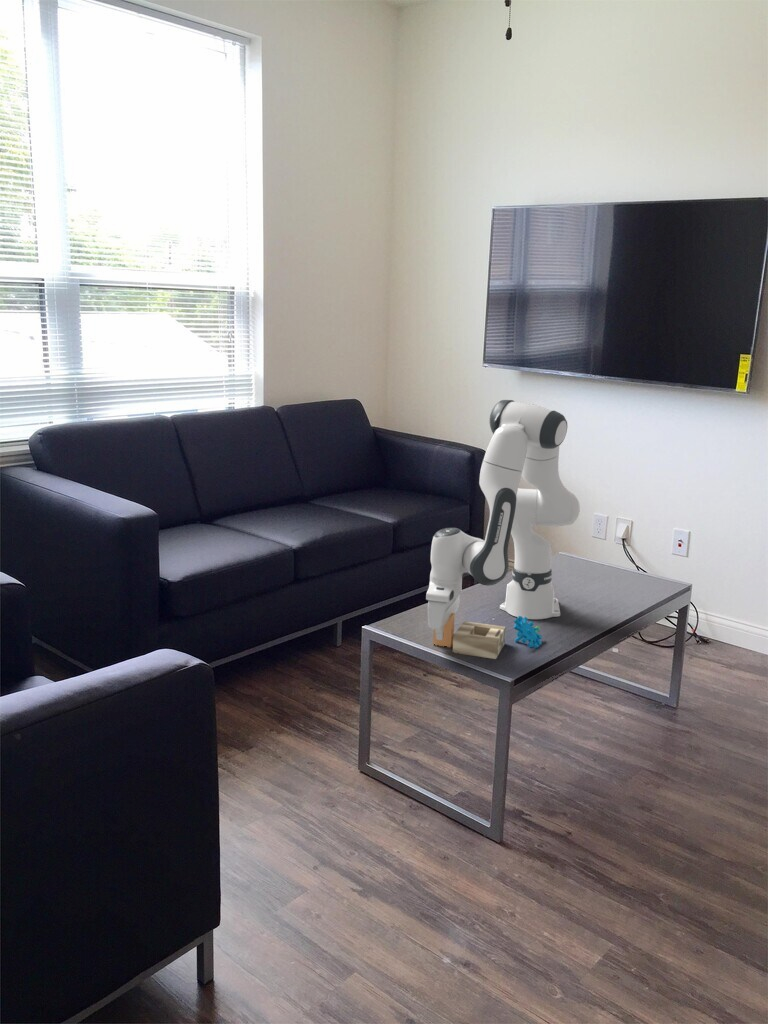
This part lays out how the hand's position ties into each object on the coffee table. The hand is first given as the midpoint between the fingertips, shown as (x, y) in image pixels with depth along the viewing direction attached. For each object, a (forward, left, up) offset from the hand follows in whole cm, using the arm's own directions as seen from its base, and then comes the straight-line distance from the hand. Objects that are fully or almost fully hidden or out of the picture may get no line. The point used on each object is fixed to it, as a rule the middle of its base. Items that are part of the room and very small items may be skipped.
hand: (443, 633), depth 241 cm
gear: (-9, +22, -3) cm, 24 cm away
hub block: (-1, +10, -3) cm, 11 cm away
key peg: (0, 0, -3) cm, 3 cm away
